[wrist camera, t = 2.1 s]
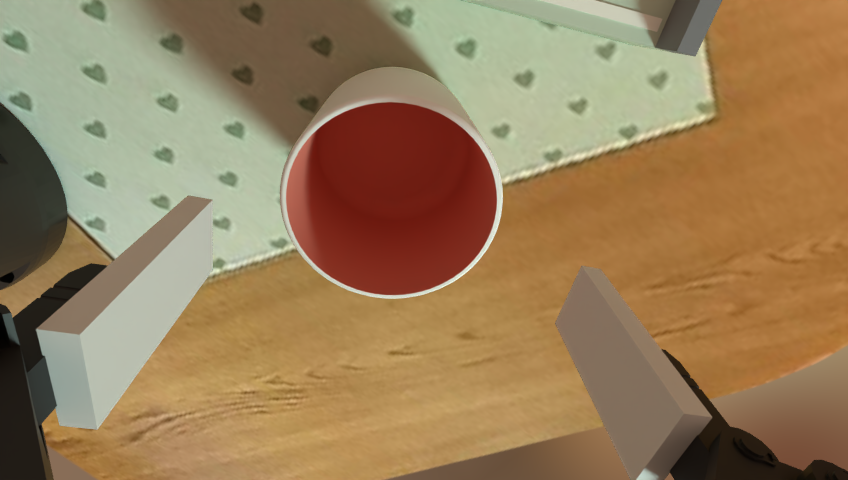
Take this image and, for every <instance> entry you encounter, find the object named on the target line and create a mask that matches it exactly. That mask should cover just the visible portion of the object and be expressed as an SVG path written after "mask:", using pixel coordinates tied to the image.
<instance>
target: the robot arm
mask: <svg viewBox="0 0 848 480" xmlns="http://www.w3.org/2000/svg"><path fill="white" fill-rule="evenodd" d="M66 226H67V205H66V199H65V194H64V191H63V188H62V185H61V182H60V179H59V177H58V175H57V173H56V171H55V169H54V167H53V165H52V163H51V161H50V160H49V158H48V157H47V155H46V153H45V152H44V150H43V149H42V148H41V146H40V145H39V144H38V142H37V141H36V140H35V139H34V137H33V136H32V135H31V134H30V133H29V132H28V130H27V129H26V128H25V127H24V126H23V125H22V124H21V123H20V122H19V121H18V120H17V119H16V118H15V117H14V116H13V115H12V114H10V113H9V112H8V111H7V110H6V109H5V108H4V107H2V106H1V105H0V290H3V289H5V288H7V287H9V286H12V285H14V284H16V283H17V282H19V281H21V280H22V279H24V278H25V277H26V276H28V275H29V274H30V273H32V272H33V271H35V270H36V269H37V268H39V267H40V266H41V265H43V264H44V263H46V262H47V261H48V260H49V259H50V258H51V257H52V256H53V255H54V254H55V252H56V251H57V250H58V248H59V246H60V245H61V243H62V240H63V238H64V235H65V231H66ZM212 270H213V200H210V199H205V198H199V197H194V196H187V197H186V198H185V199H183V200H182V201H181V202H180V203H179V204H178V205H177V206H176V207H174V208H173V209H172V210H171V211H170V212H169V213H168V214H166V215H165V216H164V217H163V218H162V219H161V220H160V221H158V222H157V223H156V224H155V225H154V226H153V227H152V228H150V229H149V230H148V231H147V232H146V233H145V234H144V235H143V236H141V237H140V238H139V239H138V240H137V241H136V242H135V243H133V244H132V245H131V246H130V247H129V248H128V249H127V250H125V251H124V252H123V253H122V254H121V255H120V256H119V257H117V258H116V259H115V260H114V261H113V262H112V263H111V264H109V265H108V266H105V265H99V264H92V263H91V264H88V265H86V266H84V267H81V268H79V269H77V270H74V271H72V272H70V273H68V274H67V275H66V276H65V277H63V278H62V279H61V280H60V281H58V282H57V283H56V284H54V287H53V288H49V289H48V290H47V291H46V292H44V293H43V294H42V295H41V297H40V298H37V299H36V300H34V301H33V302H32V303H31V304H29V305H28V306H27V307H26V308H24V309H23V310H22V311H21V312H19V313H18V314H17V315H16V316H14V317H13V318H12V315H11V312H10V311H9V309H8V308H7V307H6V306H4V305H2V304H0V480H54V479H53V475H52V469H51V465H50V460H49V455H48V451H47V446H46V441H45V436H44V432H43V428H42V422H43V421H44V420H45V419H46V418H47V417H48V416H49V414H50V413H51V412H52V411H53V410H54V409H56V413H57V417H58V421H59V425H60V426H68V427H78V428H87V429H98V428H99V427H100V425H101V424H102V423H103V421H104V420H105V418H106V417H107V416H108V414H109V413H110V411H111V410H112V409H113V407H114V406H115V405H116V403H117V402H118V400H119V399H120V398H121V396H122V395H123V393H124V392H125V391H126V389H127V388H128V387H129V385H130V384H131V382H132V381H133V380H134V378H135V377H136V375H137V374H138V373H139V371H140V370H141V369H142V367H143V366H144V364H145V363H146V362H147V360H148V359H149V357H150V356H151V355H152V353H153V352H154V351H155V349H156V348H157V346H158V345H159V344H160V342H161V341H162V339H163V338H164V337H165V335H166V334H167V333H168V331H169V330H170V328H171V327H172V326H173V324H174V323H175V321H176V320H177V319H178V317H179V316H180V315H181V313H182V312H183V310H184V309H185V308H186V306H187V305H188V303H189V302H190V301H191V299H192V298H193V296H194V295H195V294H196V292H197V291H198V290H199V288H200V287H201V285H202V284H203V283H204V281H205V280H206V278H207V277H208V276H209V274H210V273H211V272H212ZM555 324H556V326H557V328H558V330H559V333H560V335H561V337H562V339H563V341H564V343H565V345H566V347H567V349H568V351H569V353H570V355H571V357H572V360H573V362H574V364H575V366H576V368H577V370H578V372H579V374H580V376H581V378H582V380H583V382H584V384H585V386H586V389H587V391H588V393H589V395H590V397H591V399H592V401H593V403H594V405H595V407H596V409H597V411H598V413H599V415H600V418H601V420H602V422H603V424H604V426H605V428H606V430H607V432H608V434H609V436H610V438H611V440H612V442H613V444H614V447H615V448H616V450H617V453H618V455H619V457H620V459H621V461H622V463H623V465H624V467H625V469H626V471H627V474H628V476H629V478H630V480H664V479H665V478H666V477H667V476H668V474H669V473H671V475H672V476H673V478H674V480H848V471H846V470H845V469H842V468H840V467H838V466H836V465H834V464H833V463H830V462H827V461H824V460H814V461H813V462H812V463H811V464H810V465H809V466H808V467H807V468H806V469H805V470H804V471H802V470H800V469H797V468H794V467H792V466H789V465H787V464H784V463H781V462H779V461H778V459H777V457H776V456H775V455H774V453H773V452H772V451H771V450H770V449H769V448H768V447H767V446H766V445H765V444H764V443H763V442H762V441H760V440H759V439H757V438H756V437H754V436H753V435H751V434H750V433H747V432H745V431H743V430H741V429H738V428H734V427H730V426H729V425H728V423H727V422H726V421H725V420H724V418H723V417H722V416H721V414H720V413H719V412H718V411H717V409H716V408H715V407H714V405H713V404H712V403H711V402H710V400H709V399H708V398H707V396H706V395H705V394H704V393H703V391H702V390H700V389H699V386H698V385H697V384H696V382H695V381H694V380H693V379H692V378H690V375H689V373H688V372H687V371H686V370H685V368H684V367H683V366H682V364H681V363H680V362H679V361H678V360H676V359H675V358H674V357H673V356H672V355H671V354H669V353H668V352H667V351H666V350H663V349H660V347H659V346H658V345H657V343H656V342H655V341H654V339H653V338H652V337H651V335H650V334H649V333H648V331H647V330H646V329H645V327H644V326H643V325H642V323H641V322H640V321H639V319H638V318H637V317H636V315H635V314H634V313H633V311H632V310H631V309H630V308H629V306H628V305H627V304H626V302H625V301H624V300H623V298H622V297H621V296H620V294H619V293H618V292H617V290H616V289H615V288H614V286H613V285H612V284H611V282H610V281H609V280H608V278H607V277H606V276H605V274H604V273H603V272H602V270H601V269H597V268H592V267H586V266H581V268H580V270H579V272H578V275H577V277H576V279H575V281H574V283H573V285H572V288H571V290H570V292H569V294H568V296H567V298H566V301H565V303H564V305H563V307H562V309H561V311H560V314H559V316H558V318H557V320H556V322H555Z"/></svg>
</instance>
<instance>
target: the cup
mask: <svg viewBox="0 0 848 480" xmlns="http://www.w3.org/2000/svg"><path fill="white" fill-rule="evenodd" d="M502 202H503V191H502V182H501V177H500V173H499V169H498V166H497V163H496V161H495V158H494V156H493V154H492V152H491V150H490V148H489V147H488V145H487V144H486V142H485V141H484V139H483V137H482V136H481V134H480V133H479V131H478V130H477V128H476V127H475V125H474V124H473V122H472V120H471V119H470V117H469V116H468V114H467V113H466V111H465V110H464V108H463V106H462V105H461V103H460V102H459V100H458V99H457V98H456V97H455V95H454V94H453V93H452V92H451V91H450V90H449V89H448V88H447V87H445V86H444V85H443V84H442V83H440V82H439V81H437V80H436V79H434V78H433V77H431V76H429V75H427V74H424V73H422V72H419V71H416V70H413V69H408V68H403V67H381V68H375V69H371V70H368V71H364V72H362V73H359V74H357V75H355V76H353V77H351V78H350V79H348V80H347V81H345V82H344V83H343V84H341V85H340V86H339V87H338V88H337V89H336V90H335V91H334V92H333V93H332V94H331V95H330V96H329V97H328V99H327V100H326V101H325V103H324V104H323V105H322V107H321V108H320V110H319V111H318V112H317V114H316V115H315V116H314V118H313V119H312V120H311V122H310V123H309V125H308V126H307V127H306V129H305V130H304V131H303V133H302V134H301V135H300V137H299V138H298V140H297V141H296V143H295V144H294V146H293V148H292V150H291V151H290V153H289V155H288V158H287V160H286V163H285V166H284V169H283V173H282V178H281V185H280V205H281V212H282V217H283V221H284V224H285V227H286V230H287V232H288V234H289V237H290V238H291V240H292V242H293V244H294V246H295V247H296V249H297V250H298V252H299V253H300V254H301V256H302V257H303V258H304V259H305V260H306V261H307V262H308V263H309V264H310V265H311V266H312V268H313V269H315V270H316V271H317V272H318V273H319V274H321V275H322V276H323V277H325V278H326V279H328V280H329V281H331V282H333V283H335V284H336V285H338V286H340V287H342V288H345V289H347V290H349V291H352V292H355V293H358V294H362V295H366V296H371V297H378V298H408V297H414V296H419V295H423V294H426V293H430V292H433V291H435V290H438V289H440V288H442V287H444V286H446V285H449V284H450V283H452V282H454V281H455V280H457V279H458V278H460V277H461V276H462V275H464V274H465V273H466V272H467V271H469V270H470V269H471V268H472V267H473V266H474V265H475V264H476V263H477V262H478V261H479V259H480V258H481V257H482V256H483V254H484V253H485V252H486V250H487V249H488V247H489V245H490V243H491V242H492V240H493V238H494V235H495V233H496V231H497V228H498V225H499V221H500V217H501V212H502Z"/></svg>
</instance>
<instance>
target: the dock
mask: <svg viewBox="0 0 848 480" xmlns="http://www.w3.org/2000/svg"><path fill="white" fill-rule="evenodd" d="M462 1H466V2H470V3H474V4H478V5H481V6H485V7H489V8H493V9H497V10H500V11H504V12H508V13H512V14H516V15H519V16H523V17H527V18H531V19H535V20H539V21H542V22H546V23H550V24H554V25H558V26H561V27H565V28H569V29H573V30H577V31H580V32H584V33H588V34H592V35H596V36H600V37H603V38H607V39H611V40H615V41H619V42H622V43H626V44H630V45H634V46H639V47H645V48H650V49H656V50H662V51H668V52H673V53H679V54H685V55H691V56H696V54H697V52H698V50H699V48H700V45H701V43H702V41H703V39H704V37H705V35H706V33H707V31H708V29H709V27H710V25H711V23H712V20H713V18H714V16H715V14H716V12H717V10H718V8H719V6H720V4H721V2H722V0H462Z"/></svg>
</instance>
